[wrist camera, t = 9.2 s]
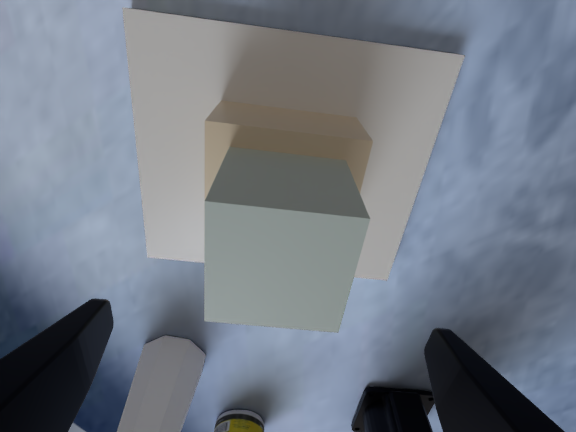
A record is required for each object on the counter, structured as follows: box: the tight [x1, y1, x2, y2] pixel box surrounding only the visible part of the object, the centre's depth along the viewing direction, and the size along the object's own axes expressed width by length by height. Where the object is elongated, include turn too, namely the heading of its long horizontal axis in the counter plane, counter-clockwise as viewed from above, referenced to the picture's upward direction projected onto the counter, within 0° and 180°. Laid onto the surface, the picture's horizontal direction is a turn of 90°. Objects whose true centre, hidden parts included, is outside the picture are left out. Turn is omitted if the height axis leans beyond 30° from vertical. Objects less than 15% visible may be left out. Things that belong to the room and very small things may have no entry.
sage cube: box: [204, 147, 370, 333], centre depth 14 cm, size 5×5×5 cm
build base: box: [122, 8, 465, 280], centre depth 18 cm, size 14×16×5 cm
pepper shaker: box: [117, 335, 206, 432], centre depth 24 cm, size 5×5×11 cm
